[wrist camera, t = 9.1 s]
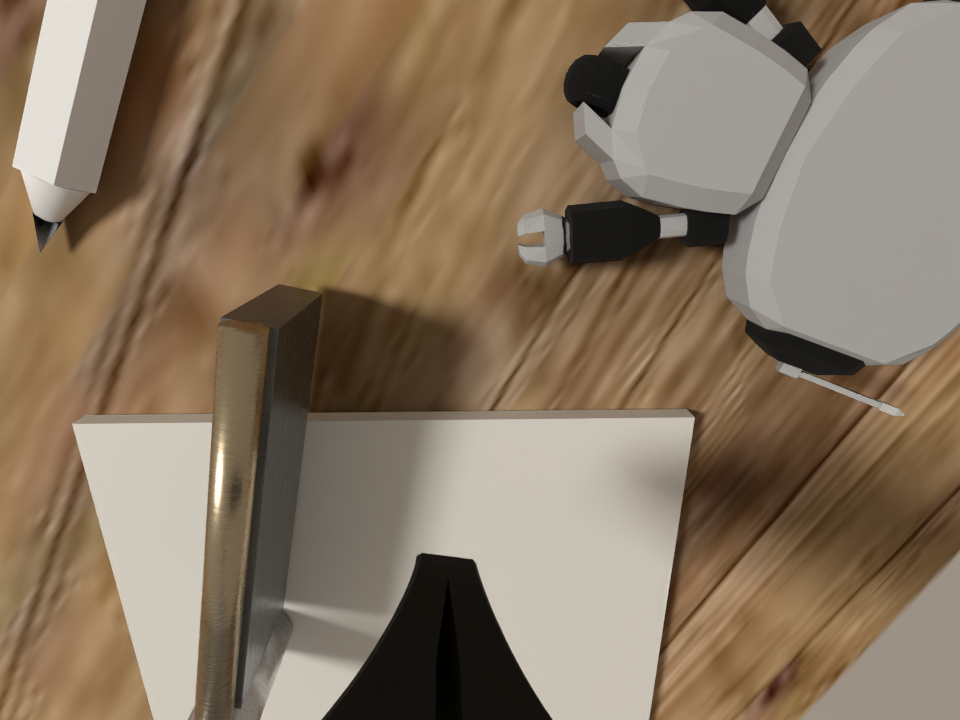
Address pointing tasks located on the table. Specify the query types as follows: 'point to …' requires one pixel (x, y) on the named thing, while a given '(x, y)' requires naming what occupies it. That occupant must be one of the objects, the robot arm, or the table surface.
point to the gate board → (415, 543)
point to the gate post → (265, 672)
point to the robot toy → (784, 174)
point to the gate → (252, 487)
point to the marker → (73, 103)
